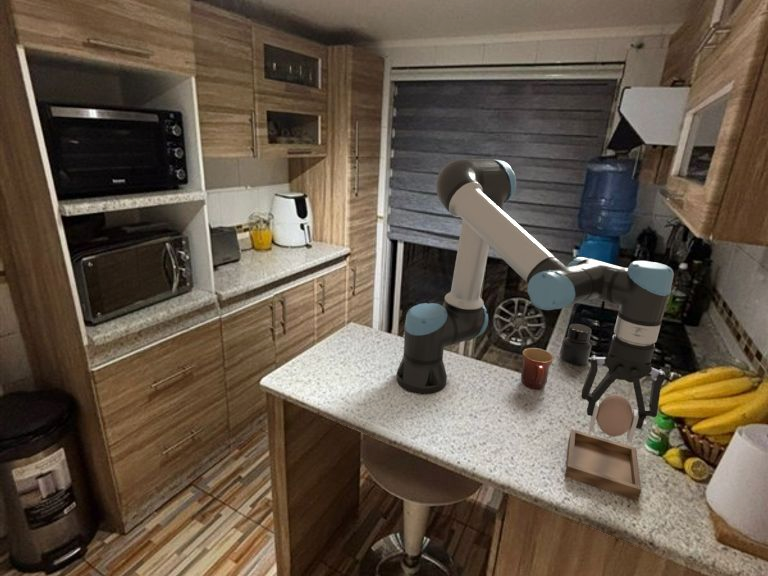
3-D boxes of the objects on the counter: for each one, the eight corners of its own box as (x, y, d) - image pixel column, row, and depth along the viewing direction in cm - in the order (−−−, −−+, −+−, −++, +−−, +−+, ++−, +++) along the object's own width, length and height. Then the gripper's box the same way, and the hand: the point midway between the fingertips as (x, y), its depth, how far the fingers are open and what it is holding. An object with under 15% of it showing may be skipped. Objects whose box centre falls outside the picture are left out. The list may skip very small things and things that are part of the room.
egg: (631, 434, 92) (642, 396, 88) (620, 448, 87) (631, 409, 84) (599, 419, 96) (608, 383, 93) (587, 432, 92) (596, 394, 88)
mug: (516, 375, 131) (521, 346, 128) (545, 379, 130) (551, 349, 126) (520, 396, 120) (525, 365, 117) (552, 401, 119) (558, 369, 115)
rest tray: (565, 476, 92) (567, 466, 91) (568, 439, 103) (571, 429, 102) (637, 501, 86) (641, 490, 85) (633, 458, 98) (636, 447, 97)
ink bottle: (592, 360, 142) (600, 328, 138) (583, 369, 136) (591, 336, 132) (564, 350, 148) (570, 319, 144) (554, 359, 142) (560, 327, 138)
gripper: (580, 334, 85) (560, 428, 92) (696, 358, 77) (664, 459, 84) (581, 321, 91) (562, 410, 99) (689, 342, 83) (660, 437, 91)
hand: (609, 432), depth 91 cm, fingers closed on egg, 7 cm apart
